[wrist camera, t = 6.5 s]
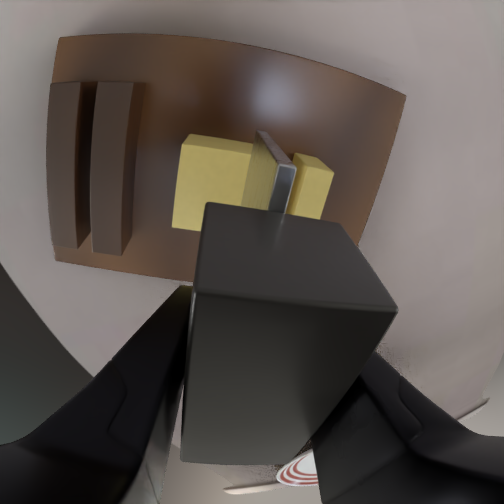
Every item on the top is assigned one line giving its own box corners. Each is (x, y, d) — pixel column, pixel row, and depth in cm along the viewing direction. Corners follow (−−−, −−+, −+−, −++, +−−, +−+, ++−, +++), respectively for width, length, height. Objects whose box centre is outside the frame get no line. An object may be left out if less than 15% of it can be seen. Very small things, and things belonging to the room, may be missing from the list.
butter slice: (317, 157, 18) (334, 172, 15) (298, 223, 20) (310, 248, 17) (294, 152, 17) (307, 165, 15) (276, 219, 20) (285, 244, 17)
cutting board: (395, 93, 17) (429, 99, 14) (330, 287, 25) (344, 320, 21) (69, 39, 13) (37, 34, 10) (62, 250, 21) (40, 280, 18)
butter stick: (274, 148, 17) (284, 160, 14) (258, 216, 19) (264, 241, 17) (189, 133, 16) (181, 143, 14) (179, 204, 19) (171, 227, 16)
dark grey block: (302, 139, 10) (431, 252, 4) (256, 310, 14) (279, 474, 8) (219, 123, 10) (202, 212, 3) (192, 303, 14) (180, 472, 7)
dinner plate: (417, 390, 37) (425, 407, 34) (415, 439, 50) (420, 451, 47) (248, 450, 41) (249, 467, 38) (300, 480, 54) (302, 492, 52)
